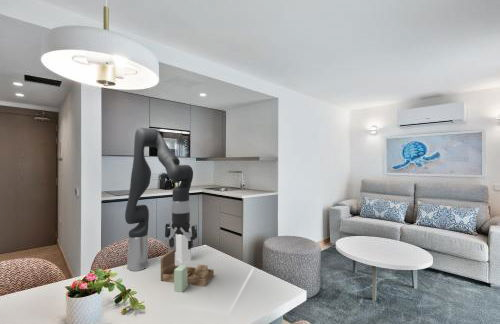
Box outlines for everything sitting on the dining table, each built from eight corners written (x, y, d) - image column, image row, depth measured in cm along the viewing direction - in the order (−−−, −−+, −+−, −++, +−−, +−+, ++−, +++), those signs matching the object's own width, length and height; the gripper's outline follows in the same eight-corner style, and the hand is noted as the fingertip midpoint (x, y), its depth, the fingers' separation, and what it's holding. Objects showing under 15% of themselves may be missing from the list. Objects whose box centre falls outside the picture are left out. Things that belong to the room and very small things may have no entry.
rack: (160, 283, 116) (160, 257, 116) (173, 273, 126) (173, 249, 126) (204, 289, 110) (204, 261, 110) (213, 278, 121) (213, 253, 121)
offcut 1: (194, 275, 114) (194, 269, 114) (198, 271, 119) (198, 264, 119) (204, 276, 114) (204, 269, 114) (207, 271, 119) (207, 265, 119)
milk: (181, 265, 136) (181, 225, 136) (175, 262, 140) (175, 223, 140) (191, 262, 140) (190, 223, 140) (185, 259, 144) (184, 221, 144)
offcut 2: (193, 282, 114) (193, 275, 114) (199, 276, 120) (199, 270, 120) (203, 283, 113) (203, 277, 113) (208, 277, 119) (208, 271, 119)
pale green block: (174, 293, 106) (174, 269, 106) (180, 287, 111) (180, 265, 111) (181, 294, 105) (181, 270, 105) (187, 288, 110) (187, 265, 110)
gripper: (161, 211, 106) (161, 249, 106) (191, 213, 103) (191, 252, 103) (171, 208, 113) (171, 243, 114) (199, 210, 110) (199, 246, 110)
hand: (180, 248), depth 108 cm, fingers open, 8 cm apart
